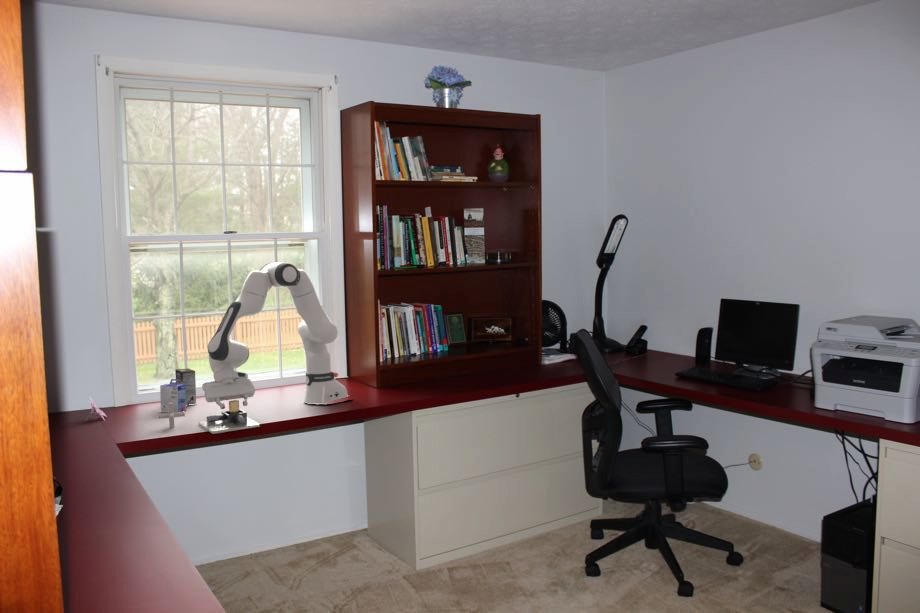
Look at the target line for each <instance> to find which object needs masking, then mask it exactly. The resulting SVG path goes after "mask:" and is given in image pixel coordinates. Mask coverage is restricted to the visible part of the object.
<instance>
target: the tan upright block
mask: <svg viewBox="0 0 920 613" xmlns="http://www.w3.org/2000/svg"><path fill="white" fill-rule="evenodd" d="M239 409H240V400H238V399H232V400H228V411H229V414H236V413H239Z"/></svg>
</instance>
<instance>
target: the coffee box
mask: <svg viewBox="0 0 920 613" xmlns="http://www.w3.org/2000/svg"><path fill="white" fill-rule="evenodd" d="M174 371H175V379H178V382H177V384H184V385H185V394H186V405H189V404H195V403H196V404H197V389H196V388H197V387H196V385H197V384H196V383H197V382H196V371H195V370H194V369H191V368H178V369H175V370H174Z"/></svg>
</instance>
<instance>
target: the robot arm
mask: <svg viewBox="0 0 920 613" xmlns="http://www.w3.org/2000/svg"><path fill="white" fill-rule="evenodd" d="M283 287H286V288H287V290H288V291H289V294H290V297H291V299H292V303H293V305H294V308H295V311H296V313H297V314H298V316H300V318H302V321H301V322H299V325H298V327H297V328H298V329H297V332H298V334H299V336H300V338H301V340H302V341H301V342H302V345H303V348H304V353H305V363H306V364H305V365H306V372H305V385H306V389H305V396H304V401H305V402H307V403H325V402H329V401H333V400H337V399H341V398H345V397H348V396H349V395H348V390H347V387H346V386H345V385H344V384H342V383H340V381H338V380H336V379H335V378H338V376H339V373H338V372H333V371H331V366H332V365H331V355H330V352H329V351H328V349H327V348H328V347H327V344H331V343H333V342H334V341H336V339H337V338H338V333H339V332H338V328H337V326H336V324H335V323H333V321H331V319H330V317H329V315H328V314H327V313H326V311H325V309H324V308H323V306H322V304H321V302H320V298H319V296H318V294H317V291H316V289H315V286H314V284H313V282H312V280H311V278H310V276H309V275H308V273H307V271H305V270H304V269H301V268H297V267H296V266H295V265H294V264H292V263H290V262H287V261H286V262H283V261H282V262H281V261H277V262H272V263H271V262H269V263H266V264H265V265H263V266H262V267H260V269H259V270H252V271H250V272H249V274H248V275H247V277H246V279H245V281H244V283H243V285H242V288H241V291H240V293H239V296H238V298H237V299H236V300H235V301H232V302H231V304H229V306H228V307H227V310H226V311H225V313H224V316H223V317H222V319H221V321H220V323H219V325H218V328H216V332H215V333H214V335H213V337H211V338H210V341H209V342H208V345H207V352H208V363H209V367H210V370H211V372H213V380H212V381H205V382H204V383H202V385H201V388H202V390H203V392H204V398H205V401H206V402H207V403H215V404H216V405H217V406H218V407H219V408H220V410H225V408H226V405H225V403H224V402H223V401H233V400H238V399H239V400H240V399H243V401H242V406H243V407H247V406H248V399H249V398H252V397H254V395H255V393H256V388H255V386H254V383H253V382H252V380H251V379H250V378H249V375H248V373H247V372H242V371H236V370H235V369H237V368H239V367H241V366H242V365H244V364H245V363H247V361H248V359H249V356H250V348H249V347H248V346H247V345H246V344H245V343H242V342H239V341H236V340H233V339H230V336H231V334H232V332H233V330H234V328H235V326H236V323H238V322H237V321H239V319H241V318H242V317H243V318H244V317H251V316H252V317H253V316H254V315H255V316H256V315H258V314H259V313H260V312H262V311H263V308H264V307H265V305H266V301H267V299H268V294H269V291H270V290H271V289H272V288H283ZM304 401H303V402H304ZM222 402H223V403H222Z"/></svg>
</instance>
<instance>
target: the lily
mask: <svg viewBox="0 0 920 613" xmlns="http://www.w3.org/2000/svg"><path fill="white" fill-rule="evenodd" d="M88 397H89V400H90V401H89V400H87V403H89V405H91V412H90V413H89V414H88V416H87V417H86V419H85V421H88V418H89V417H90V416H91V415H92V414H96V415H99V416H100V417H101V418H102V419H103V420H105V418H104V416H105V417H106V418H107V417H108V416H107V415H106V413H105V412H104V411H103V410H101V408H102V407H101V406H97V405H96V403H95V402H94V399H92V398H91V397H90V396H88Z"/></svg>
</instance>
